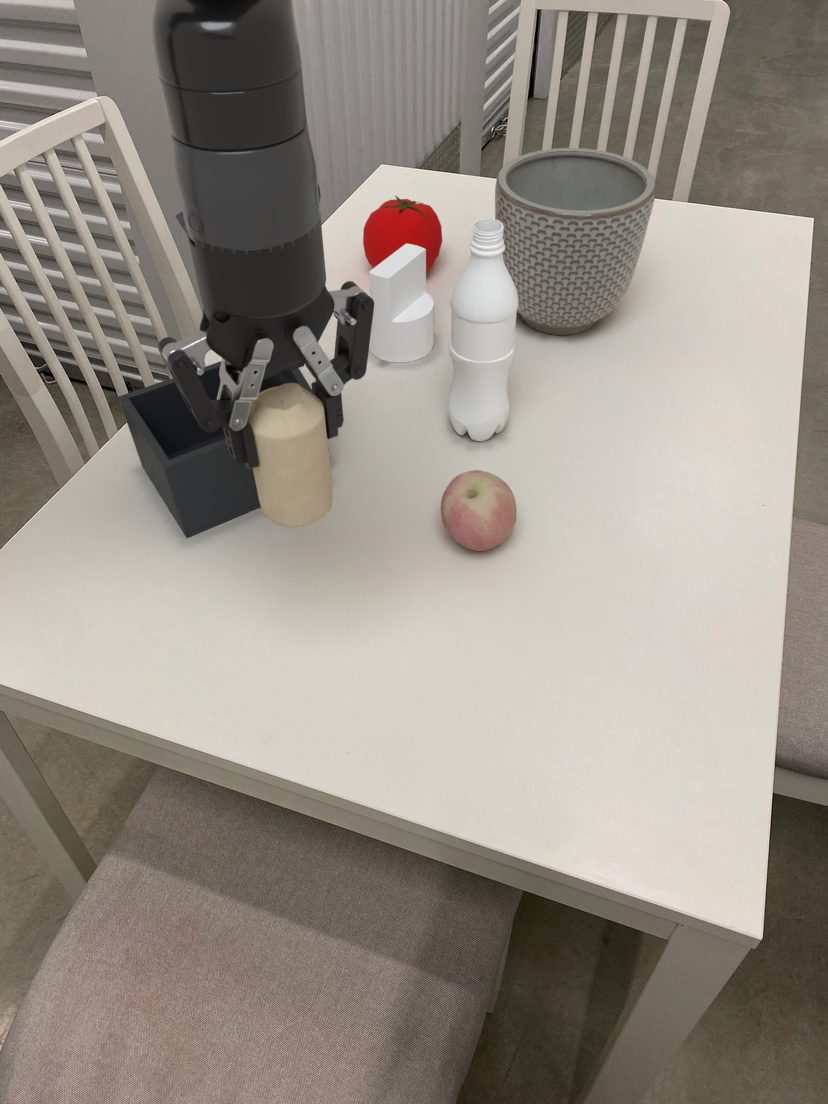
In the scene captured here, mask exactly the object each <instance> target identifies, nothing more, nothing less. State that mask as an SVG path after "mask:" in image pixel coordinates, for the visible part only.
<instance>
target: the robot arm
mask: <svg viewBox="0 0 828 1104" xmlns="http://www.w3.org/2000/svg"><path fill="white" fill-rule="evenodd" d="M152 9H153V10H152V16H151V37H152V46H153V53H154V59H155V65H156V71H157V74H158V75H157V76H158V80H159V85H160V90H161V94H162V99H163V104H164V109H165V113H166V118H167V123H168V127H169V131H170V138H171V143H172V144H171V145H172V154H173V155H172V156H173V168H174V169H173V170H174V178H175V183H176V189H177V194H178V198H179V202H180V208H181V210H182V211H181V212H183V217H184V221H185V226H186V231H187V234H186V236H187V235H188V236H187V240H188V245H189V249H190V254H191V258H192V263H193V267H194V272H195V277H196V281H197V282H196V283H197V287H198V291H199V294H200V300H201V303H202V310H203V311H202V312H203V313H202V317H201V321H200V324H199V330H198V331H196V332H194V333H192V334H190V335H187V336H186V337H184V338H181V339H180V340H178V341H177V339H176V338H174V337H171V336H167V337H163V338H162V339H161V340H160V341H159V342H158V345H157V349H158V352H159V354H160V356H161V358H162V359H163V362H164V363H165V366H166V367H167V370H168V371H169V374H170V376H171V378H173V379H174V381H175V383H176V385H177V387H178V389H179V391H180V393H181V395H182V397H183V399H184V401H185V403H186V405H187V407H188V409H189V411H190V412H191V413H192V414H193V415H194V416H195V418H196V419H197V421H198V423H199V425H200V426H201V428H202V429H203V430H204V431H205V432H213V431H215V430H216V429H217V428H218V427H223V429H224V434H225V438H226V442H227V447H228V450H229V452H230V453H231V454H232V456H233V457H234V459H235V460H236V461H237V462H238V464H239V465H242V464H245V466H246V467H247V469H248V470H250V469H253V468H256V467H258V466H259V463H258V458H257V453H256V448H255V442H254V437H253V432H252V427H251V425H250V424H249V423H248V417H249V413H250V409H251V406H252V402H253V401H255V400H257V398H258V395H259V391H260V388H261V384H262V380H264V379H267V378H270V377H272V376H274V375H275V374H277V373H279V372H280V371H282V370H293V369H296V368H299V369H300V368H302V367H306V369H308V371H309V373H310V374H311V376H312V378H314V380H315V381H314V382H311V383H310V385H311V389H312V394H314V395H316V396H317V397H318V398H319V399H320V400H321V402H322V404H323V406H324V413H325V423H326V432H327V440H331V439H334V438H336V437H339V429H340V428H342V427H343V425H344V420H345V419H344V410H343V407H344V406H343V398H342V392H343V390H344V387H345V385H346V384H347V383H349V381H351V380H355V381H356V380H358V381H359V380H361V379H362V378H363V377H365V375H366V373H367V367H368V360H369V353H370V351H369V344H370V336H371V327H372V319H373V311H374V300H373V299H372V298H371V297H370V294H368V293H366V292H365V291H364V289H362V288H361V287H360V286H359V285H357V283H355V281H352V280H348V281H345V282H343V284H342V285H341V287H340V289H337V290H328V288H327V286H326V283H327V270H326V261H325V251H324V250H325V249H324V239H323V228H322V227H323V226H322V218H321V217H322V215H321V206H320V203H321V188H320V185H319V183H318V172H317V166H316V164H317V163H316V159H315V155H314V150H313V146H312V142H311V136H310V132H309V124H308V121H307V120H308V118H307V110H306V109H307V107H306V98H305V89H304V81H303V80H304V77H303V67H302V63H303V62H302V56H301V47H300V42H299V36H298V30H297V25H296V17H295V9H294V2H293V0H154V4H153V8H152ZM332 316H333V317H334V318H335V319H336V320H337V321H336V333H335V343H334V352H333V353H334V354H333V358H332V359H331V360H330V359H329V357H328V356H327V354H326V352H325V351H324V350H323V348H322V346H321V345H320V343H319V342H320V339H321V338H322V335H323V334H324V332H325V331H326V330H325V329H326V328H327V326H328V324H329V322H330V320H331V318H332ZM209 351H212V352H214V353H215V354H216V355H218V356H219V357H220V358H221V361H222V362H221V366H220V371H219V375H220V380H221V382H220V387H219V391H218V395H217V400H210V399H209V397H208V395H207V393H206V391H205V389H204V387H203V385H202V383H201V380H200V378H199V376H200V375H202V374H203V373H204V368H205V367H206V361H205V357H206V355H207V353H208V352H209ZM198 375H199V376H198Z"/></svg>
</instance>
